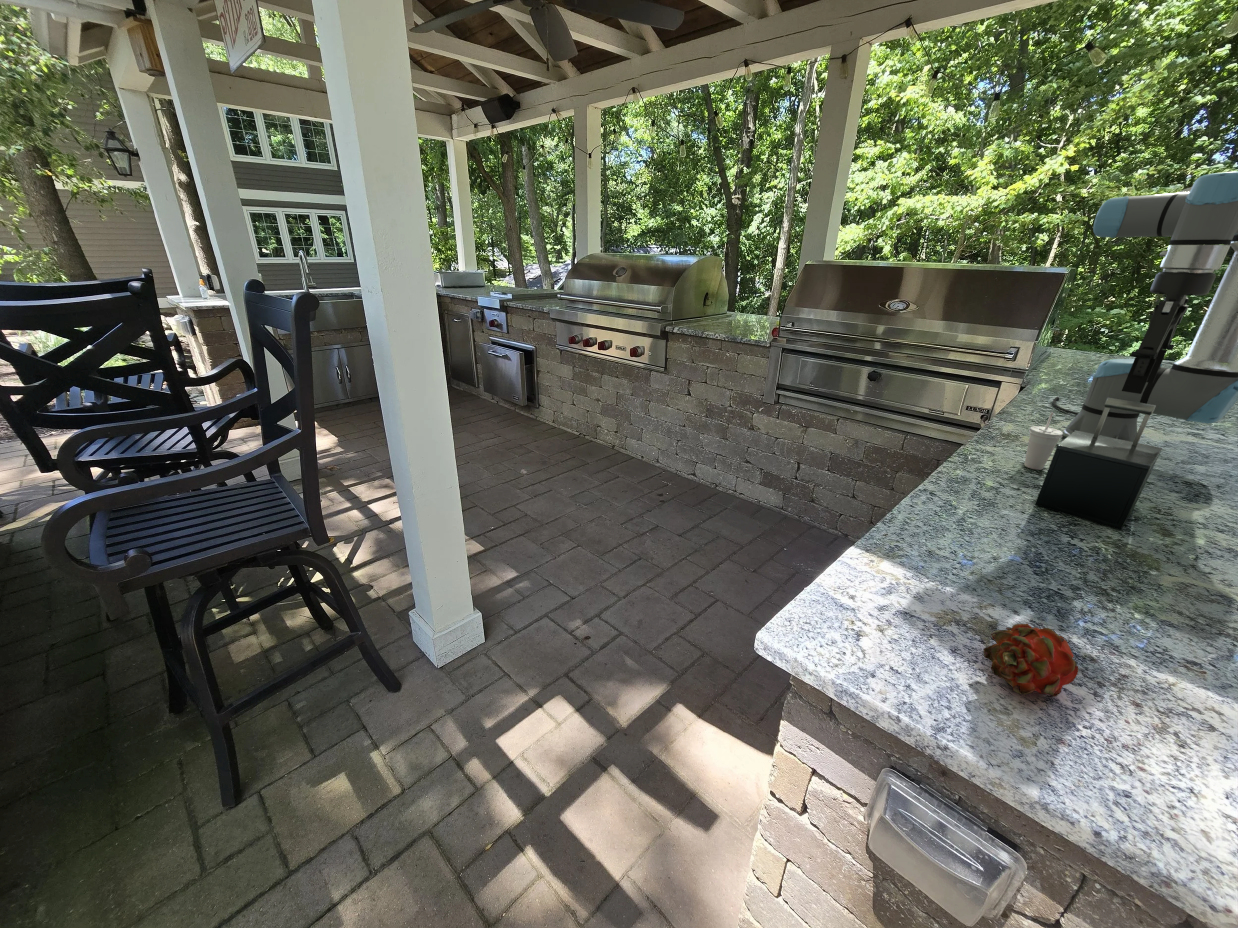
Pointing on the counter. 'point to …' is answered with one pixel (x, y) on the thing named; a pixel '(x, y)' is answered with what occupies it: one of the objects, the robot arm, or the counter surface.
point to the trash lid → (1114, 447)
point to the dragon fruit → (1032, 659)
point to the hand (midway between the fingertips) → (1137, 386)
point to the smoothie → (1041, 445)
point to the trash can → (1092, 488)
